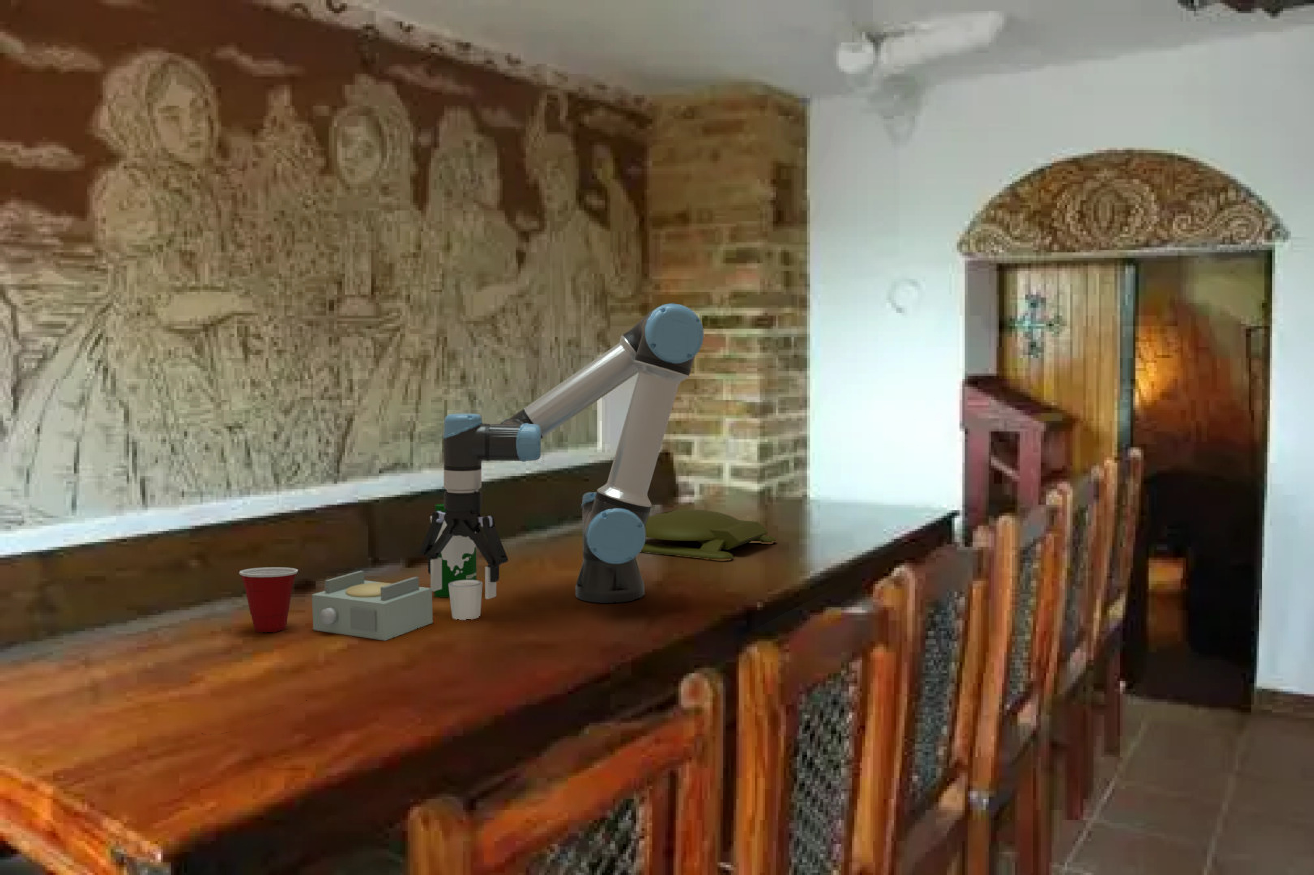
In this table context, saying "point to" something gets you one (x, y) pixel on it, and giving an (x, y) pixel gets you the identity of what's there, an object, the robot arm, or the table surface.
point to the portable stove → (371, 607)
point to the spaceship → (701, 533)
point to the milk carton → (456, 559)
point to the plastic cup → (269, 596)
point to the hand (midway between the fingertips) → (463, 593)
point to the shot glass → (465, 599)
